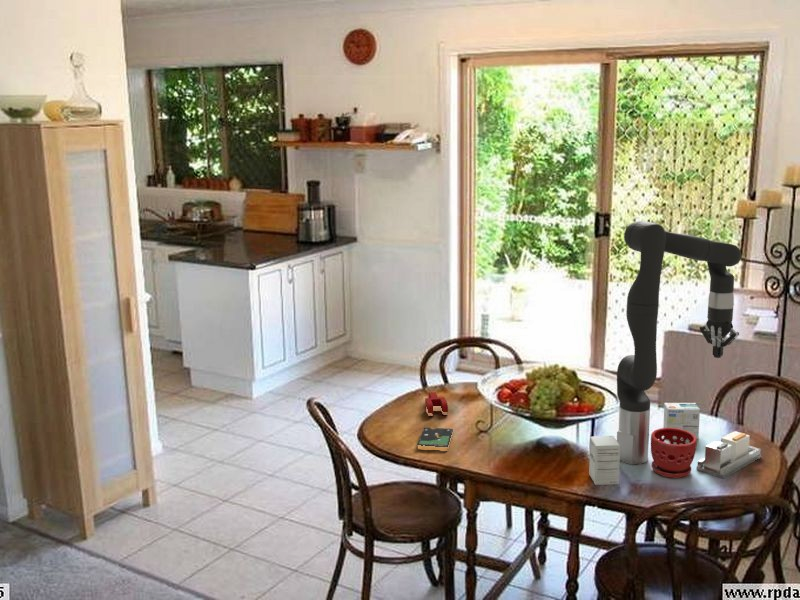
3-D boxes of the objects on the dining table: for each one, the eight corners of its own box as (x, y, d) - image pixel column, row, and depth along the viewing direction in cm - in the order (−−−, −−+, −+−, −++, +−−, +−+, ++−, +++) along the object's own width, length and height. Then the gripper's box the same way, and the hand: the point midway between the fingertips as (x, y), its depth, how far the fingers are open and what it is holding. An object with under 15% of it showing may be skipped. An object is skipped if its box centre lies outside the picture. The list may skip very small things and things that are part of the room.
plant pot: (642, 473, 254) (643, 436, 252) (661, 459, 264) (662, 424, 261) (683, 485, 246) (685, 447, 243) (701, 470, 255) (703, 433, 253)
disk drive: (423, 434, 291) (417, 451, 277) (423, 427, 290) (417, 443, 276) (453, 435, 289) (448, 452, 275) (453, 428, 289) (448, 444, 274)
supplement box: (588, 474, 255) (589, 435, 252) (612, 473, 255) (613, 435, 252) (594, 485, 248) (595, 445, 245) (619, 484, 248) (620, 444, 245)
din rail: (723, 478, 249) (725, 451, 247) (696, 469, 256) (697, 443, 254) (760, 457, 263) (762, 432, 261) (733, 449, 270) (735, 424, 268)
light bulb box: (694, 432, 285) (696, 402, 282) (699, 439, 278) (701, 409, 276) (662, 431, 286) (663, 401, 283) (666, 439, 279) (667, 408, 277)
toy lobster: (448, 417, 305) (447, 404, 304) (428, 418, 304) (428, 405, 303) (440, 402, 321) (440, 390, 319) (422, 403, 320) (422, 391, 319)
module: (735, 463, 257) (736, 440, 255) (719, 458, 261) (721, 436, 259) (748, 456, 262) (749, 433, 260) (733, 451, 266) (734, 429, 264)
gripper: (695, 303, 268) (692, 355, 272) (734, 310, 259) (730, 364, 263) (707, 299, 273) (705, 350, 277) (746, 306, 263) (743, 359, 267)
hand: (717, 357), depth 270 cm, fingers closed
